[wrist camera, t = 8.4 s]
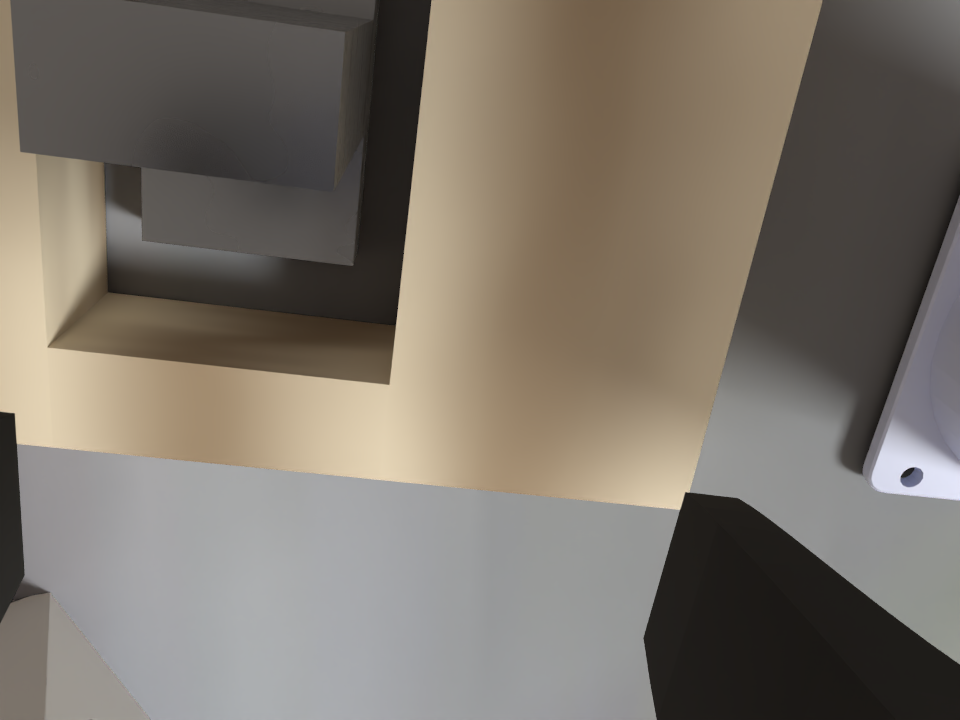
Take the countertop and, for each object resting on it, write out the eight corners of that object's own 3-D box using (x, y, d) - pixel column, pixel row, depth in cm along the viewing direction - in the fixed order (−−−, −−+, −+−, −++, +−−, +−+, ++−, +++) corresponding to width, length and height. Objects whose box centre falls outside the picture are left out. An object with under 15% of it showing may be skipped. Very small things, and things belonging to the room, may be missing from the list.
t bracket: (391, -133, 15) (362, -203, 10) (358, 248, 18) (320, 364, 12) (159, -172, 15) (-7, -265, 9) (160, 224, 18) (32, 332, 12)
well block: (814, -232, 15) (899, -282, 12) (650, 437, 20) (684, 510, 17) (-319, -439, 13) (-521, -553, 10) (-185, 348, 18) (-297, 412, 15)
